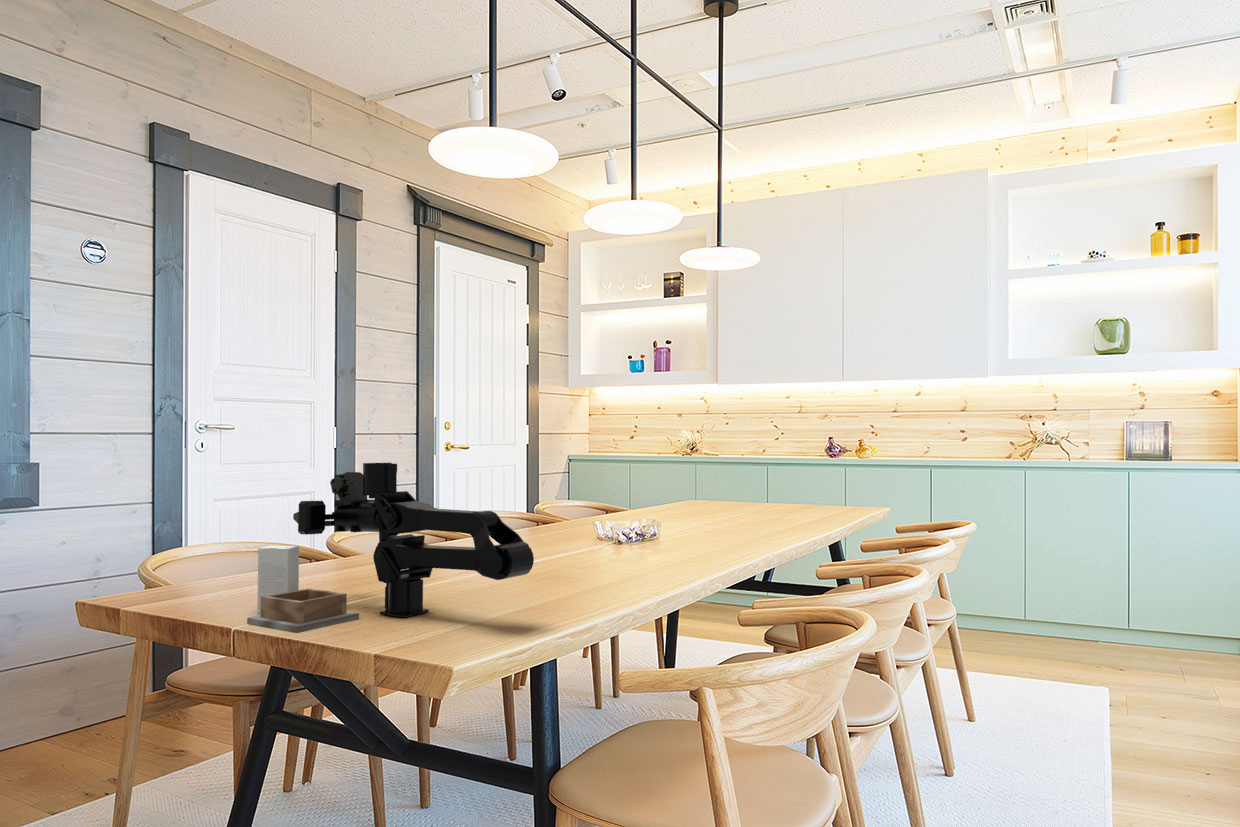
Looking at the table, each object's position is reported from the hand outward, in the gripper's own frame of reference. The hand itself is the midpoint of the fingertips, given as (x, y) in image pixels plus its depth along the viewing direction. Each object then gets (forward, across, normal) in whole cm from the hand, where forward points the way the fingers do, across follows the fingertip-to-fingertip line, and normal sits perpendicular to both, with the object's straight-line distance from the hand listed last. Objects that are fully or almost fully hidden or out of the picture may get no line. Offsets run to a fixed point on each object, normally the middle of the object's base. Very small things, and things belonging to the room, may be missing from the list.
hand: (313, 515), depth 166 cm
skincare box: (-4, +10, +18) cm, 21 cm away
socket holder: (-15, +13, +18) cm, 27 cm away
